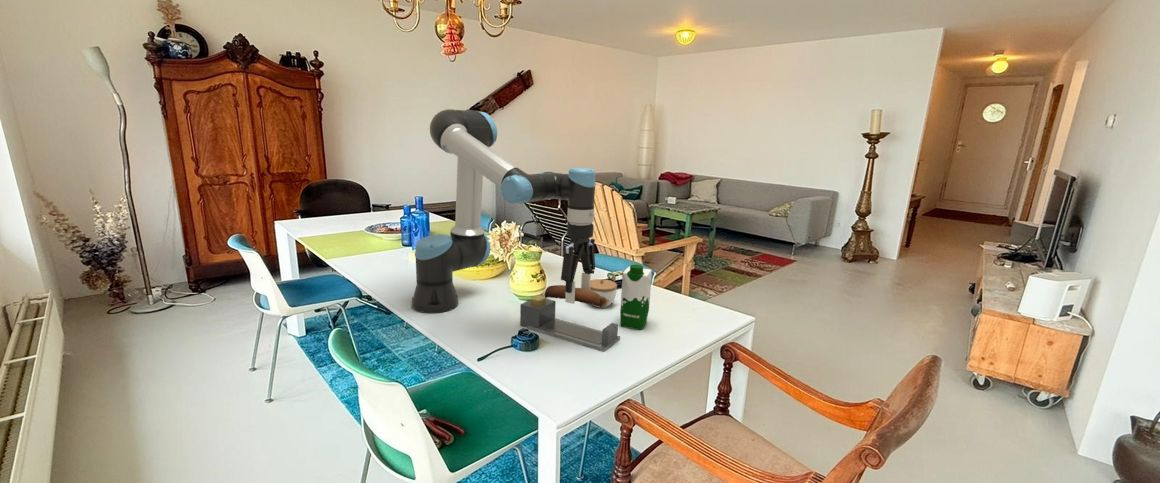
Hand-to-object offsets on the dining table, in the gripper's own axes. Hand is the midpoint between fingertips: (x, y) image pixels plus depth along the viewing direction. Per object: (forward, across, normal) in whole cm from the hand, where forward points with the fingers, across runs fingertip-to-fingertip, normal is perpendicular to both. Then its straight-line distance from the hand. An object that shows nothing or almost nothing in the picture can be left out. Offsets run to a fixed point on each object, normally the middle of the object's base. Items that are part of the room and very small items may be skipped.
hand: (577, 298), depth 142 cm
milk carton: (+12, +18, -11) cm, 24 cm away
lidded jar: (+12, +27, +6) cm, 30 cm away
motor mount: (+12, 0, +3) cm, 12 cm away
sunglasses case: (+1, 0, 0) cm, 1 cm away
